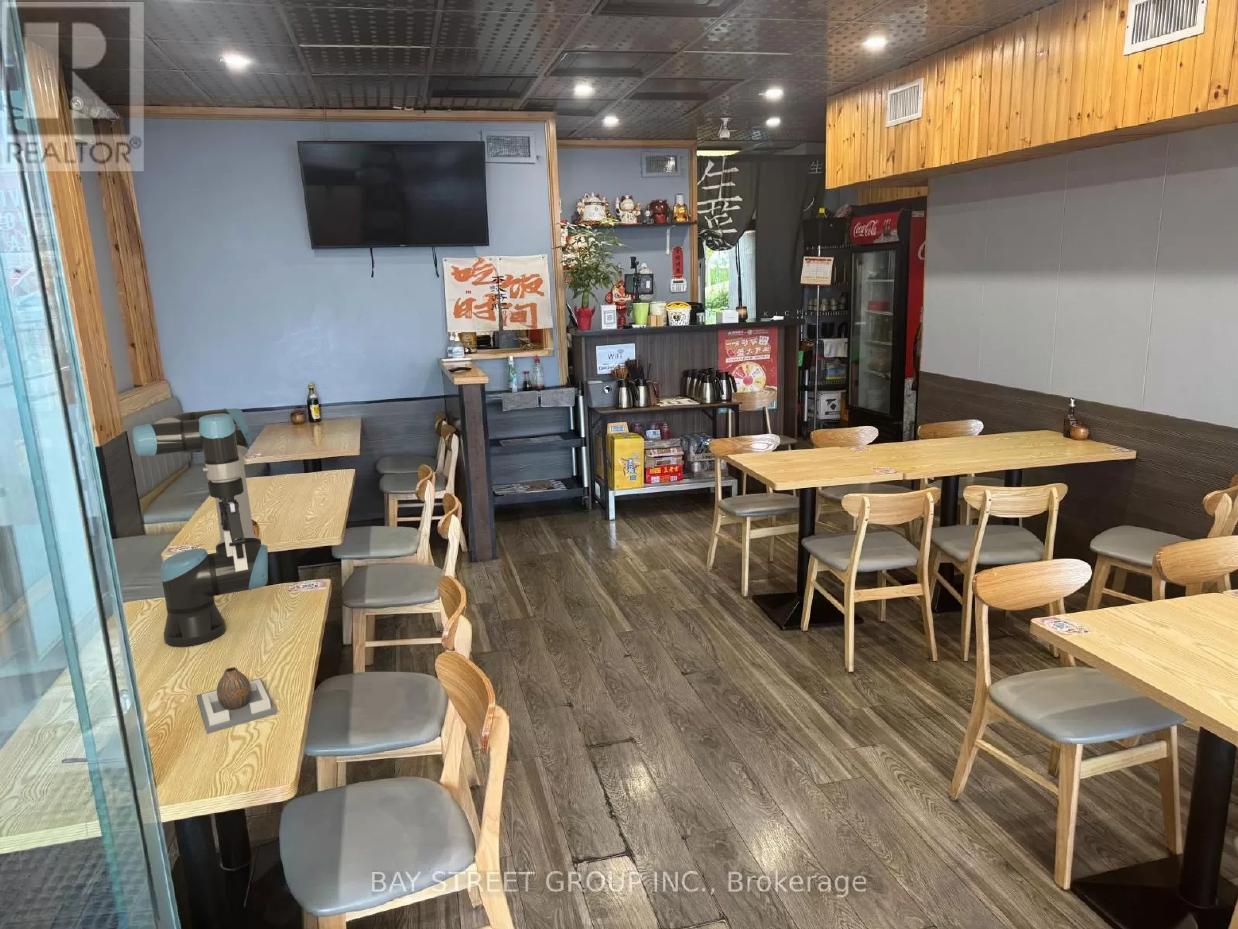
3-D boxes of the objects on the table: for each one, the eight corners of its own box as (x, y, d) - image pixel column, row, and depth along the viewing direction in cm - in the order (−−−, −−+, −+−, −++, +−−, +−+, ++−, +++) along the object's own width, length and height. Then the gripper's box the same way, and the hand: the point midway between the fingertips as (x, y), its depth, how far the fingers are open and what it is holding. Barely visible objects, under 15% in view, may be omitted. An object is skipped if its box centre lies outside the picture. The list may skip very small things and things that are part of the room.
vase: (243, 694, 192) (238, 659, 190) (258, 703, 187) (253, 667, 185) (213, 707, 186) (207, 671, 184) (228, 716, 182) (222, 679, 180)
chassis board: (197, 699, 193) (195, 687, 192) (261, 682, 200) (259, 670, 199) (206, 733, 178) (204, 720, 177) (276, 713, 185) (274, 700, 184)
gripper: (201, 472, 208) (213, 552, 213) (214, 491, 188) (228, 580, 192) (233, 467, 212) (245, 546, 217) (250, 486, 191) (262, 573, 196)
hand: (237, 562), depth 205 cm, fingers open, 13 cm apart
